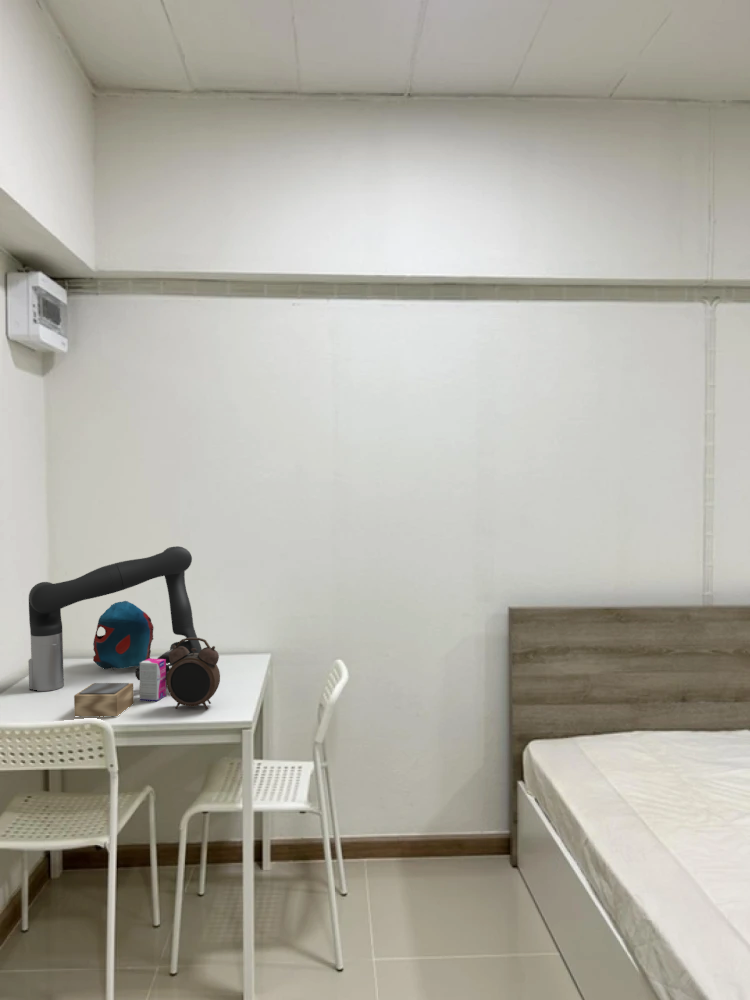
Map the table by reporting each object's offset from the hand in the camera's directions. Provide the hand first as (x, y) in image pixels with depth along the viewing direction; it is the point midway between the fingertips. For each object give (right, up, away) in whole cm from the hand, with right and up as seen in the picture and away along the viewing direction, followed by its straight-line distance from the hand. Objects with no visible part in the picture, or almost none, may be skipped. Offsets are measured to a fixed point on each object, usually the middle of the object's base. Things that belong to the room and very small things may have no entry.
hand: (152, 676), depth 218 cm
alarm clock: (+15, -7, -10) cm, 19 cm away
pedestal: (-10, -7, -10) cm, 16 cm away
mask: (-21, -6, +38) cm, 44 cm away
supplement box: (0, -7, 0) cm, 7 cm away
